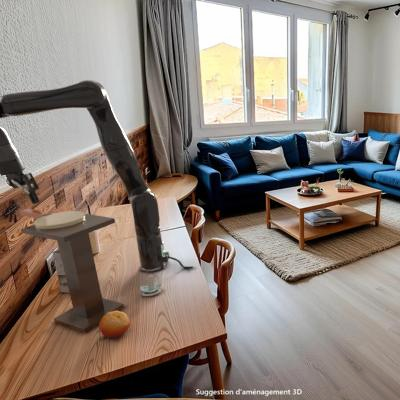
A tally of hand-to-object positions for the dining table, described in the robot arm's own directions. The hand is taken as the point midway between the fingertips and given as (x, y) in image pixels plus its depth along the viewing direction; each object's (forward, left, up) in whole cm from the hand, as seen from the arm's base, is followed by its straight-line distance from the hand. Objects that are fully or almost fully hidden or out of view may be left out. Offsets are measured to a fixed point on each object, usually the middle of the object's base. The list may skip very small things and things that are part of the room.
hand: (27, 203), depth 120 cm
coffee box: (-11, +3, -33) cm, 35 cm away
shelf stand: (-21, +23, -33) cm, 45 cm away
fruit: (-33, +36, -33) cm, 59 cm away
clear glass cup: (-39, +14, -33) cm, 53 cm away
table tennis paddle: (-13, +17, -1) cm, 22 cm away
